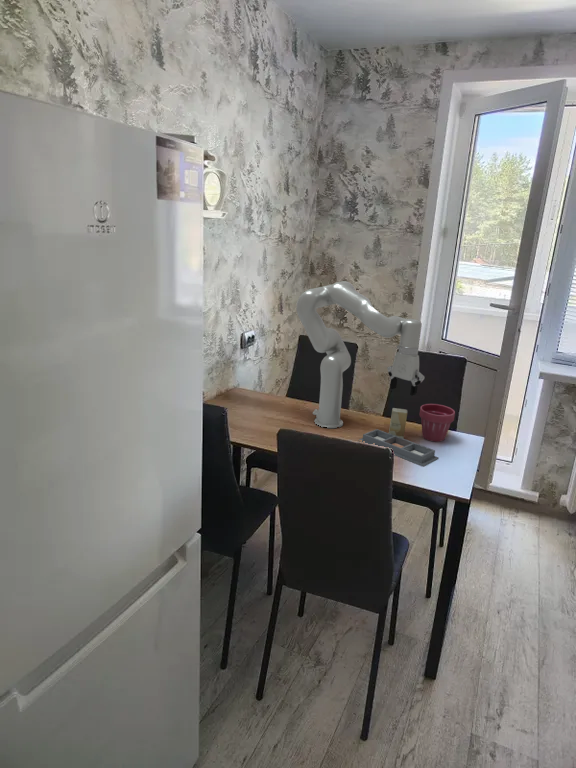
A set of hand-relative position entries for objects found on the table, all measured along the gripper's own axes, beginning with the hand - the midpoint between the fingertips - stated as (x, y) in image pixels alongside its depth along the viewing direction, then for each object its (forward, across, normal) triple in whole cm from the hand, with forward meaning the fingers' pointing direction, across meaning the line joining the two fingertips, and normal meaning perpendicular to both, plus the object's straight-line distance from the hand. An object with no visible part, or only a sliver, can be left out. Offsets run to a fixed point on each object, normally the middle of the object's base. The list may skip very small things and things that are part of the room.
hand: (403, 391), depth 210 cm
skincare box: (+21, -1, +1) cm, 21 cm away
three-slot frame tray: (+20, +7, -10) cm, 24 cm away
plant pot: (+21, +9, +14) cm, 26 cm away
